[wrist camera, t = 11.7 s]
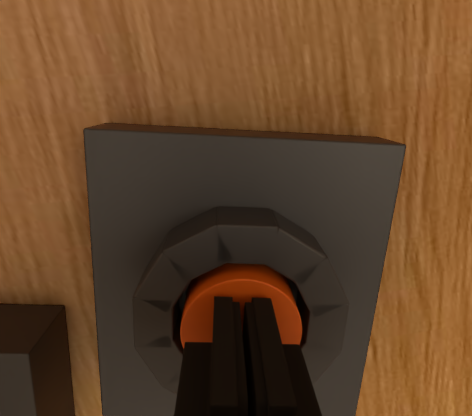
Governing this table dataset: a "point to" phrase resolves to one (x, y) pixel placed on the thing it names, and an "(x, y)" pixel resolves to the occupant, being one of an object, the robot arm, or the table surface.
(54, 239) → the table surface
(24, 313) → the dial console
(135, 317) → the grey piece
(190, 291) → the button
